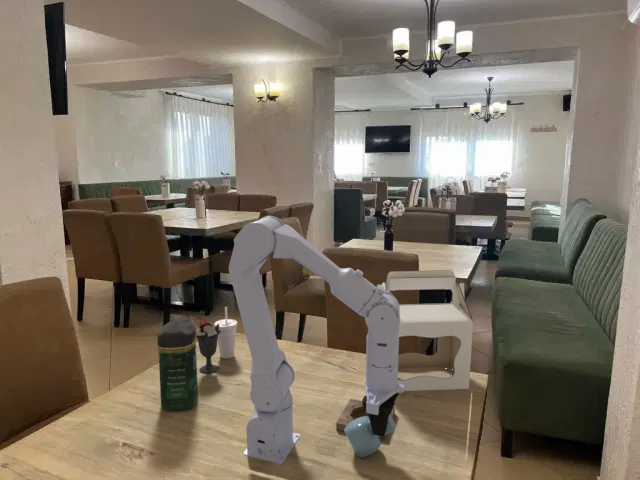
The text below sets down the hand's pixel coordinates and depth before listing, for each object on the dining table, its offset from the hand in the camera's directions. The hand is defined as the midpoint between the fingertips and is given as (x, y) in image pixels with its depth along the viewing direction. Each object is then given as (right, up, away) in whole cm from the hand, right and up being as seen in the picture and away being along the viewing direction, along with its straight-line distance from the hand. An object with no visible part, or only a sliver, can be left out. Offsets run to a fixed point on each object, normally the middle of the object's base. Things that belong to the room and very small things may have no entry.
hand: (380, 430), depth 85 cm
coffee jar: (-43, -2, +20) cm, 48 cm away
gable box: (+13, 0, +31) cm, 34 cm away
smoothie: (-37, +2, +44) cm, 58 cm away
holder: (-2, -3, +11) cm, 12 cm away
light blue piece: (0, -3, +1) cm, 3 cm away
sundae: (-40, +1, +36) cm, 54 cm away
